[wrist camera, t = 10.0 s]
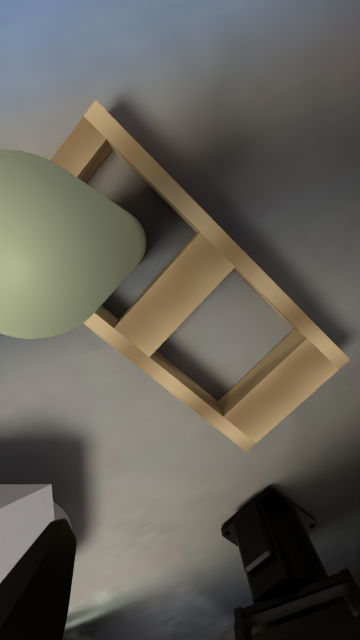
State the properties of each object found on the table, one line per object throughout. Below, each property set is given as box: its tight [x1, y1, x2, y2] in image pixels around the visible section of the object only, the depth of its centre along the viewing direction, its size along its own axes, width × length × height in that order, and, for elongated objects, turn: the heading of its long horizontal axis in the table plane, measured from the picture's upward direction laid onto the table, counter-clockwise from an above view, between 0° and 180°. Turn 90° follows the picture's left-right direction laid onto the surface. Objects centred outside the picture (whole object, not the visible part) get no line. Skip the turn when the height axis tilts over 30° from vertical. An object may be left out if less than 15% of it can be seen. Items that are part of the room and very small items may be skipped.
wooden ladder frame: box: [51, 100, 350, 452], centre depth 19 cm, size 22×10×2 cm, turn 47°
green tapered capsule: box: [0, 150, 147, 339], centre depth 12 cm, size 4×4×13 cm
